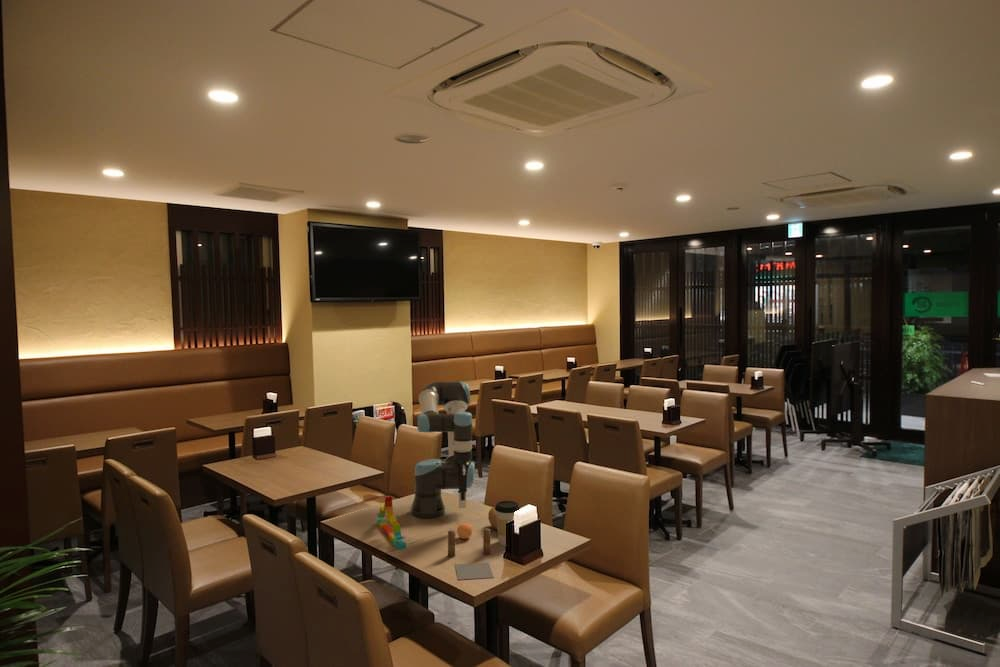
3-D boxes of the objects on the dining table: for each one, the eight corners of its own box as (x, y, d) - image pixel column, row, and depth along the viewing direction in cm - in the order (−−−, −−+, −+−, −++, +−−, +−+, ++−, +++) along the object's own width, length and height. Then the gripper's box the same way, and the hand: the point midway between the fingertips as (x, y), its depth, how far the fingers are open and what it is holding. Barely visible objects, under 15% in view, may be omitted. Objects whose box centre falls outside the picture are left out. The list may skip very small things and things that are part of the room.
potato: (497, 536, 234) (497, 517, 234) (483, 525, 247) (483, 506, 247) (519, 533, 238) (519, 513, 238) (504, 521, 251) (504, 503, 251)
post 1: (447, 554, 216) (447, 530, 216) (454, 554, 217) (454, 530, 216) (448, 557, 214) (448, 533, 213) (455, 557, 214) (455, 532, 214)
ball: (456, 535, 235) (456, 521, 234) (471, 535, 236) (471, 520, 235) (457, 541, 229) (457, 526, 228) (472, 540, 230) (473, 525, 229)
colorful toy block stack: (406, 548, 222) (406, 509, 222) (398, 550, 221) (398, 510, 220) (384, 522, 249) (384, 488, 249) (376, 524, 248) (377, 489, 247)
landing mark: (454, 564, 207) (454, 564, 207) (488, 562, 209) (488, 562, 209) (458, 580, 196) (458, 579, 196) (493, 577, 198) (493, 577, 198)
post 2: (482, 552, 218) (483, 528, 218) (489, 552, 219) (489, 528, 219) (483, 555, 216) (484, 531, 216) (490, 554, 216) (490, 530, 216)
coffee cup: (522, 545, 226) (523, 506, 225) (498, 548, 223) (498, 509, 222) (515, 536, 235) (515, 499, 234) (491, 538, 232) (491, 501, 232)
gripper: (452, 447, 246) (451, 502, 247) (455, 454, 233) (454, 512, 234) (470, 446, 247) (469, 502, 248) (473, 453, 234) (473, 512, 235)
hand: (462, 507), depth 241 cm, fingers closed
